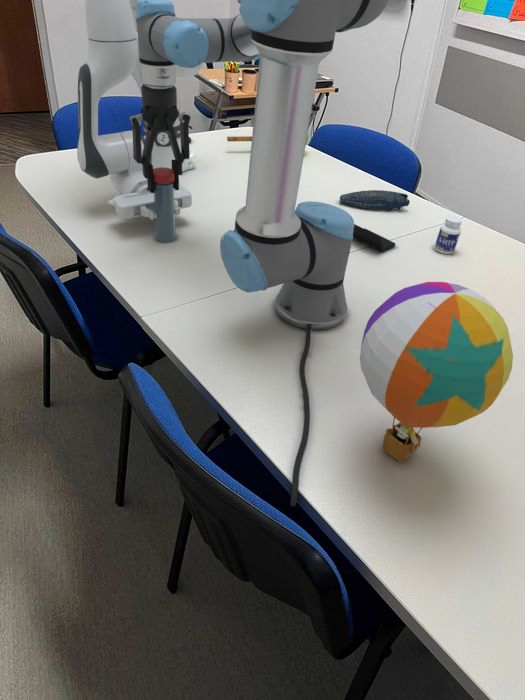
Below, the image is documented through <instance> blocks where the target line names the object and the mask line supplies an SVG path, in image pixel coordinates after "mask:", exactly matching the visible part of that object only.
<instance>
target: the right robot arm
mask: <svg viewBox="0 0 525 700" xmlns="http://www.w3.org/2000/svg"><path fill="white" fill-rule="evenodd" d="M389 1H390V0H237V1H236V2H237V3H238V4H240V6H239V10H238V11H239V14H237V15H234V16H233V17H227V18H191V17H190V18H184V17H177V16H176V12H175V5H174V3H173V2H172V0H138V1H137V3H136V22H137V33H138V46H139V60H140V79H141V82H142V83H143V85H142V86H141V91H140V94H141V93H142V94H141V105H142V107H141V109H140V113H137V114H135V115H133V114H130V115H129V117H128V120H129V122H130V125H131V129H132V130H131V131H132V132H133V156H134V160H135V161H136V162H137V163H139V164H140V163H141V164H142V167H143V176H144V177H145V178H146V179H147V182H148V190H149V191H150V192H151V193H154V176H153V165H152V164H151V163H150V159H151V154H152V149H153V145H154V140H155V136H156V134H157V131H161V130H164V131H166V132H167V135H168V138H169V141H170V145H171V148H172V151H173V154H174V158H175V160H171V161H172V169H173V170H174V172H175V180H174V189H175V190H179V184H180V176H182V175H183V172H182V163H183V162H184V160H185V159H189V160H190V158H191V157H190V154H191V152H190V143H189V137H190V133H189V128H188V126H190V125H189V124H190V121H191V116H190V115H189V114H188V113H187V112H185V111H183V112H181V111H180V112H179V111H178V109H177V95H178V94H177V93H178V92H177V87H176V86H175V85H176V84H177V77H176V65H178V66H180V67H186V68H194V67H197V66H198V65H200V64H201V63H202V64H206V63H207V64H213V63H227V62H228V63H229V62H241V63H246V62H251V61H258V60H259V64H258V73H257V83H256V94H255V104H254V113H253V114H254V115H253V124H252V135H251V136H252V141H251V146H250V154H249V155H250V157H249V167H248V177H247V187H246V196H245V198H246V199H245V205H244V206H243V207H241V208H239V209H238V210H237V212H236V214H235V222H234V229H233V230H232V229H231V230H230V229H229V230H227V231H226V232H224V234H222V235H221V237H220V241H219V250H220V256H221V260H222V263H223V266H224V269H225V271H226V273H227V275H228V277H229V278H230V280H231V281H232V283H233V284H234V285H235V286H236V287H237V288H238V289H239V290H241V291H242V292H245V293H255V292H259V291H266V290H268V289H270V288H273V287H277V286H281V287H280V290H279V291H278V293H277V295H276V300H275V311H276V313H277V315H278V316H279V317H280V318H281V319H282V320H283V321H284V322H286V323H287V324H289V325H291V326H293V327H296V328H300V329H304V330H306V333H305V343H304V347H303V352H302V355H301V358H300V362H299V378H300V384H301V388H302V393H303V408H304V409H303V410H304V411H303V412H304V413H303V415H304V418H303V429H302V436H301V440H300V442H299V443H300V444H299V447H298V450H297V453H296V456H295V460H294V465H293V470H292V480H291V481H292V482H291V494H290V502H289V504H290V506H291V507H296V506H297V503H298V497H299V495H298V494H299V480H300V470H301V466H302V461H303V458H304V457H303V456H304V453H305V450H306V447H307V444H308V439H309V433H310V422H311V421H310V420H311V410H310V409H311V408H310V395H309V394H310V393H309V389H308V384H307V379H306V371H305V370H306V362H307V357H308V354H309V351H310V346H311V340H312V339H311V337H312V331H324V330H325V331H326V330H329V329H333V328H336V327H337V326H339V325H340V324H342V323H343V322H344V320H345V318H346V315H347V310H348V305H347V297H346V292H345V286H344V280H345V275H346V271H347V267H348V262H349V257H350V253H351V247H352V244H353V243H352V242H353V239H354V238H353V229H354V224H355V220H354V218H353V216H352V215H351V214H350V213H349V212H348V211H346V210H345V209H343V208H340V207H339V206H336V205H333V204H329V203H326V202H321V201H302V202H300V203H298V204H297V200H298V194H299V193H298V192H299V188H300V181H301V175H302V169H303V164H304V156H305V152H306V146H307V144H306V140H307V134H308V135H309V128H310V123H311V122H310V121H311V115H312V110H313V103H314V96H315V92H316V86H317V85H316V84H317V80H318V79H317V78H318V73H319V69H320V68H319V66H320V63H321V62H322V60H324V59H325V58H326V57H328V56H329V55H331V53H332V52H333V49H334V42H335V37H336V33H344V32H347V31H350V30H355V29H359V28H363V27H365V26H368V25H369V24H371V23H373V22H374V21H375V20H376V19H377V18H379V17H380V16H381V14H382V13H383V12H384V10H385V9H386V7H387V5H388V4H389ZM177 118H178V120H179V122H180V138H181V152H180V149H179V146H178V142H177V139H176V136H175V130H174V127H173V124H174V123H175V121H176V119H177ZM142 121H145V122H146V123H147V124H148V125H147V134H146V139H145V144H144V149H143V154H142V153H141V135H142V130H141V126H142V123H143V122H142Z"/></svg>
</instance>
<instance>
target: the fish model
mask: <svg viewBox="0 0 525 700" xmlns="http://www.w3.org/2000/svg"><path fill="white" fill-rule="evenodd" d="M410 202H411V201H410V200H409V195H408V194H406V193H403V192H402V193H401V192H399V191H392V190H382V189H380V190H379V189H377V190H376V189H368V190H360V191H352V192H348V193H344V194H341V195H340V196H339V203H343V204H346V205H349V206H351V207H357V208H362V209H371V210H372V209H374V210H384V211H385V210H386V211H391V210H394V209H397V210H402V208H404V207H408V206H409V205H410Z"/></svg>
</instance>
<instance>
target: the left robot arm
mask: <svg viewBox="0 0 525 700" xmlns="http://www.w3.org/2000/svg"><path fill="white" fill-rule="evenodd" d="M137 1H138V0H85V3H84V4H85V5H84V6H85V7H84V8H85V22H86V23H85V25H86V32H87V40H88V50H87V56H86V60H85V62H84V63H83V65H81V66H80V67H79V70H78V76H77V119H78V120H77V124H78V127H77V131H78V133H77V134H78V135H77V144H76V145H77V146H76V157H77V161H78V165H79V167H80V169H81V171H82V172H83V173H85V175H88V176H90V177H91V178H93V179H100V178H105V177H107V176H108V177H109V181H110V183H111V185H112V187H113V188H114V190H115V191H116V192H117V193H118V194H117V195H114V197H112V198H111V199H109V200H108V202H107V204H108V205H109V206H110V207H111V208H114V212H115V213H116V215H117V217H118V218H119V219H121V220H128V219H129V220H130V219H133V218H140V217H145V218H149V219H150V220H151V221H153V220H155V219H157V212H156V211H155V210H154V193H151V192H150V191H149V190H148V182H147V179H146V178H145V177H144V176H143V167H142V164H141V163H140V164H139V163H137V162H136V161H135V160H134V156H133V132H132V130H127V131H125V130H124V131H117V132H114V133H107V134H100V135H99V103H100V100H101V99H102V97H103V96H104V95H105V94H106V93H107V92H108V91H109V90H110V89H112V88H114V87H116V86H117V85H119V84H121V83H122V82H124V81H125V80H127V79H128V78H129V77H130V76H131V77H132V78H133V80H134V81H135V82H136V84H137V86H138V89H139V92H140V94H141V95H142V93H141V86H142V85H143V83H142V82H141V79H140V60H139V46H138V33H137V22H136V3H137ZM202 66H203V63H201V64H200V65H198V66H197V67H194V68H186V67H180V66H178V65H176V78H186V77H195V76H196V75H197V74H198V73H199V72H200V70H201V68H202ZM177 109H178V111H179V112H181V100H180V97H179V95H178V94H177ZM143 121H144V120H143ZM147 125H148V124H147V123H146V122H145V121H144V122H143V134H144V135H142V134H141V153H142V154H143V149H144V144H145V139H146V134H147ZM173 127H174V130H175V136H176V139H177V142H178V146H179V149H180V152H181V138H180V122H179V120H178V118H177V119H176V121H175V123H174V124H173ZM188 129H190V130H193V127H192V125H188ZM191 142H192V138H191V137H190V136H189V144H190V143H191ZM193 156H194V154H193V153H190V157H189V159H185V160H184V162H183V163H182V173H183V172H185V171H188V170H192V169H194V163H192V162H191V159H190V158H191V157H193ZM171 160H175V158H174V154H173V151H172V148H171V145H170V141H169V138H168V135H167V132H166V131H164V130H161V131H157V134H156V136H155V140H154V145H153V149H152V154H151V159H150V163H151V164H152V165H153V169H154V168H159V167H165V168H170V169H172V161H171ZM192 195H193V194H192V192H191V191H190V190H188V188H186V187H185V186H183V185H182V184H180V183H179V190H175V189H174V209H175V216H177V215H181V209H182V210H183V209H188V208H191V207H192V205H193V196H192Z"/></svg>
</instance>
